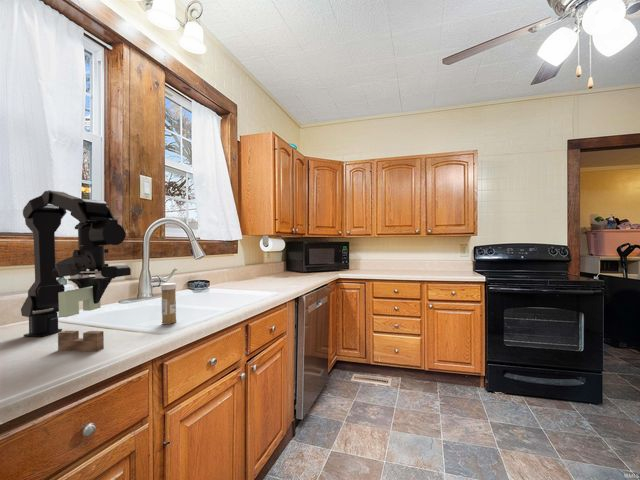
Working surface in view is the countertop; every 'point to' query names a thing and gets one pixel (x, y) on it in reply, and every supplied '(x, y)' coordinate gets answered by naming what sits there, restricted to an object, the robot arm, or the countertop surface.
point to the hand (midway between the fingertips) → (92, 303)
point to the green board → (76, 301)
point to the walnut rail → (81, 341)
